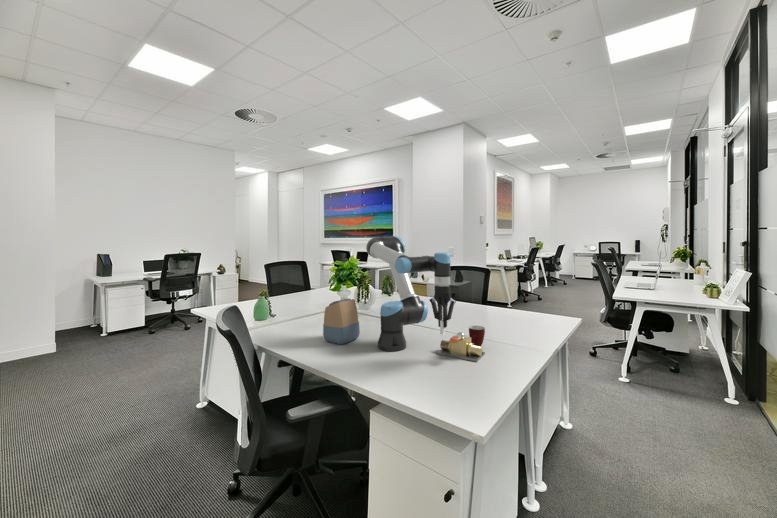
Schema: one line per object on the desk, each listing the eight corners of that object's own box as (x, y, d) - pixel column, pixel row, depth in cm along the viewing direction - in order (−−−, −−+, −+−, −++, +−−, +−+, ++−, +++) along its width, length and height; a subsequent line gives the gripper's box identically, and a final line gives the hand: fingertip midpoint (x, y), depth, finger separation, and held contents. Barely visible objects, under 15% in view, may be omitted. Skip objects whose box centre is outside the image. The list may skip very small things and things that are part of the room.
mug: (482, 351, 171) (482, 331, 170) (466, 349, 174) (466, 330, 173) (485, 344, 180) (485, 326, 180) (470, 343, 184) (470, 324, 183)
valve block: (437, 354, 168) (437, 338, 167) (446, 347, 178) (446, 332, 177) (476, 362, 157) (476, 345, 156) (484, 354, 167) (484, 338, 166)
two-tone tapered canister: (341, 334, 204) (340, 295, 202) (362, 338, 194) (361, 298, 192) (320, 341, 190) (319, 300, 188) (342, 346, 180) (341, 303, 179)
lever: (459, 336, 169) (459, 331, 169) (465, 337, 167) (465, 332, 167) (449, 343, 159) (449, 338, 158) (455, 344, 157) (455, 339, 157)
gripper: (426, 285, 162) (427, 333, 164) (452, 287, 155) (452, 337, 157) (433, 283, 169) (433, 330, 170) (458, 284, 161) (458, 333, 163)
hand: (442, 333), depth 163 cm, fingers closed
